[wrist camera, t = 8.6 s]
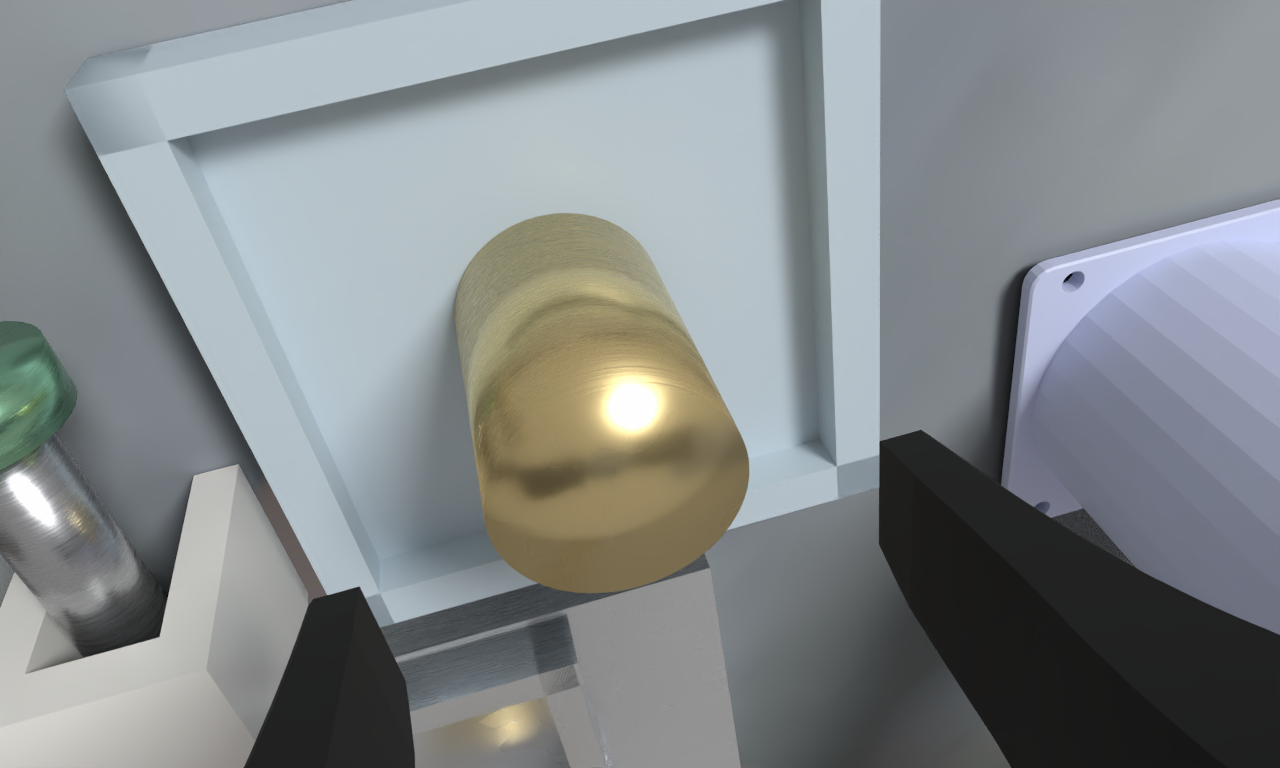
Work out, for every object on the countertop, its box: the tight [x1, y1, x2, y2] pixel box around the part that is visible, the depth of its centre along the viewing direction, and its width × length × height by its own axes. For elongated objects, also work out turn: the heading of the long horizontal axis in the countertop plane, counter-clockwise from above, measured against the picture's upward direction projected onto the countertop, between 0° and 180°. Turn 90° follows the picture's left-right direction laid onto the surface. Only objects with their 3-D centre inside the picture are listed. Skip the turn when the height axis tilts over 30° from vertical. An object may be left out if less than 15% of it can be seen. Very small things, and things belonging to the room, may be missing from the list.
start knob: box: [0, 321, 167, 658], centre depth 16 cm, size 3×7×3 cm, turn 9°
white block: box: [0, 464, 308, 768], centre depth 19 cm, size 4×4×5 cm
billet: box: [454, 213, 750, 593], centre depth 17 cm, size 4×4×6 cm
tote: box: [64, 0, 880, 627], centre depth 18 cm, size 12×12×2 cm
